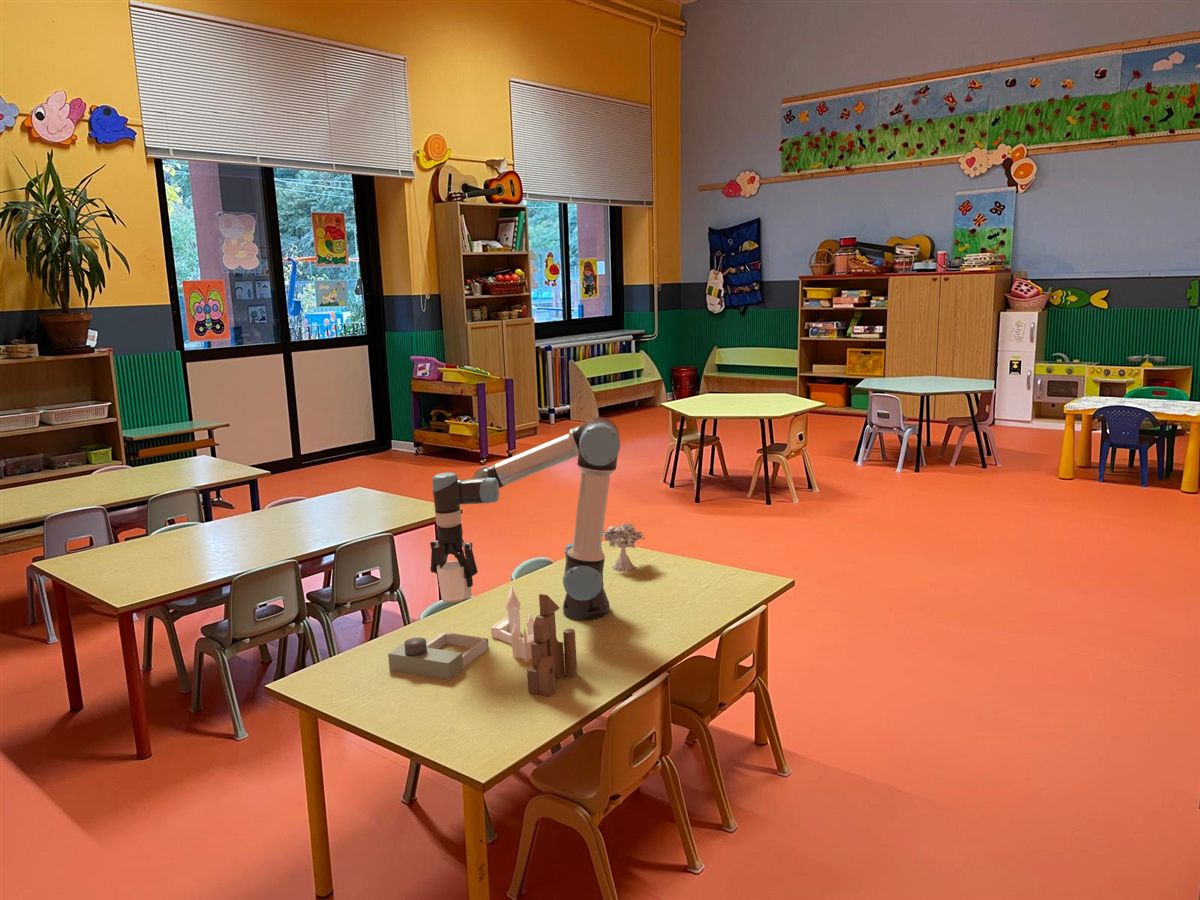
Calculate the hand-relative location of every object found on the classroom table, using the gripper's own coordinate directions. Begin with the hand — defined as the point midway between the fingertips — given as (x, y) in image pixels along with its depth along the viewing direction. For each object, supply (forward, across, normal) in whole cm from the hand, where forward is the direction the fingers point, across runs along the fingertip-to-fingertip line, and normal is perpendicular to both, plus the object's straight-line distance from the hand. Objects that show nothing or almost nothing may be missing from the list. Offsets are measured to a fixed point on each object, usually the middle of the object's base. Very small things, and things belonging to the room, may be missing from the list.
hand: (456, 595), depth 272 cm
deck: (+12, -5, +18) cm, 23 cm away
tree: (+14, -25, -72) cm, 77 cm away
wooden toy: (+13, -43, +21) cm, 50 cm away
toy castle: (+13, -21, +2) cm, 24 cm away
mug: (+1, 0, 0) cm, 1 cm away
